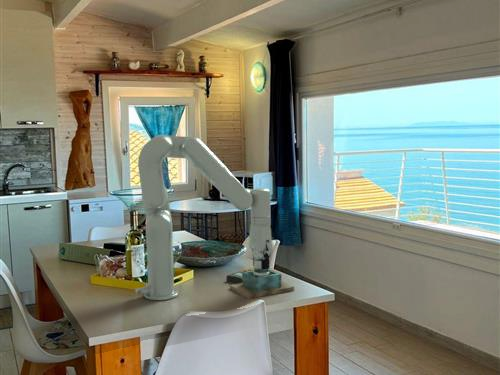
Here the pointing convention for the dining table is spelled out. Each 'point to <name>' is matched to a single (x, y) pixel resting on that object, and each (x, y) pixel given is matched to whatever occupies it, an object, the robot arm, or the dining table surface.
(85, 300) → the dining table surface
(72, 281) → the dining table surface
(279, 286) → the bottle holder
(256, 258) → the plastic bottle
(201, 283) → the dining table surface
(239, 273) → the electronic device
